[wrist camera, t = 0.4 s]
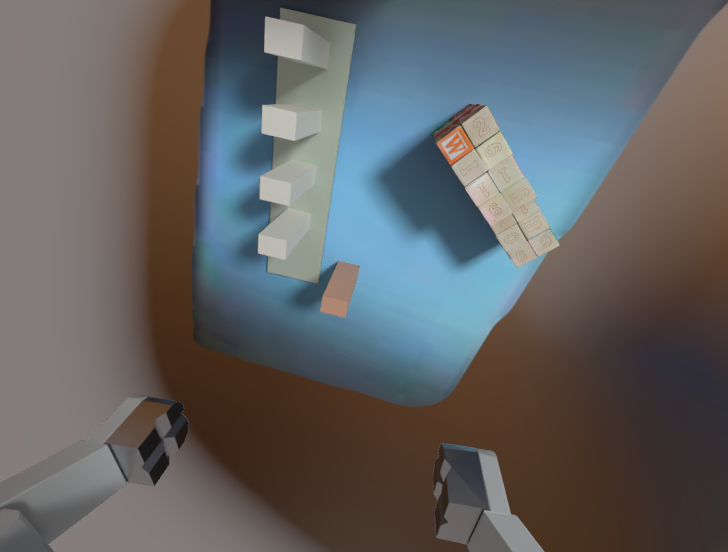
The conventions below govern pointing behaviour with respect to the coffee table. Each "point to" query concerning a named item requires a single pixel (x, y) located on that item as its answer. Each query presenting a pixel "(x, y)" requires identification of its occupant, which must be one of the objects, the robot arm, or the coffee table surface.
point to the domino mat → (313, 137)
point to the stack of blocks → (495, 183)
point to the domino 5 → (340, 289)
